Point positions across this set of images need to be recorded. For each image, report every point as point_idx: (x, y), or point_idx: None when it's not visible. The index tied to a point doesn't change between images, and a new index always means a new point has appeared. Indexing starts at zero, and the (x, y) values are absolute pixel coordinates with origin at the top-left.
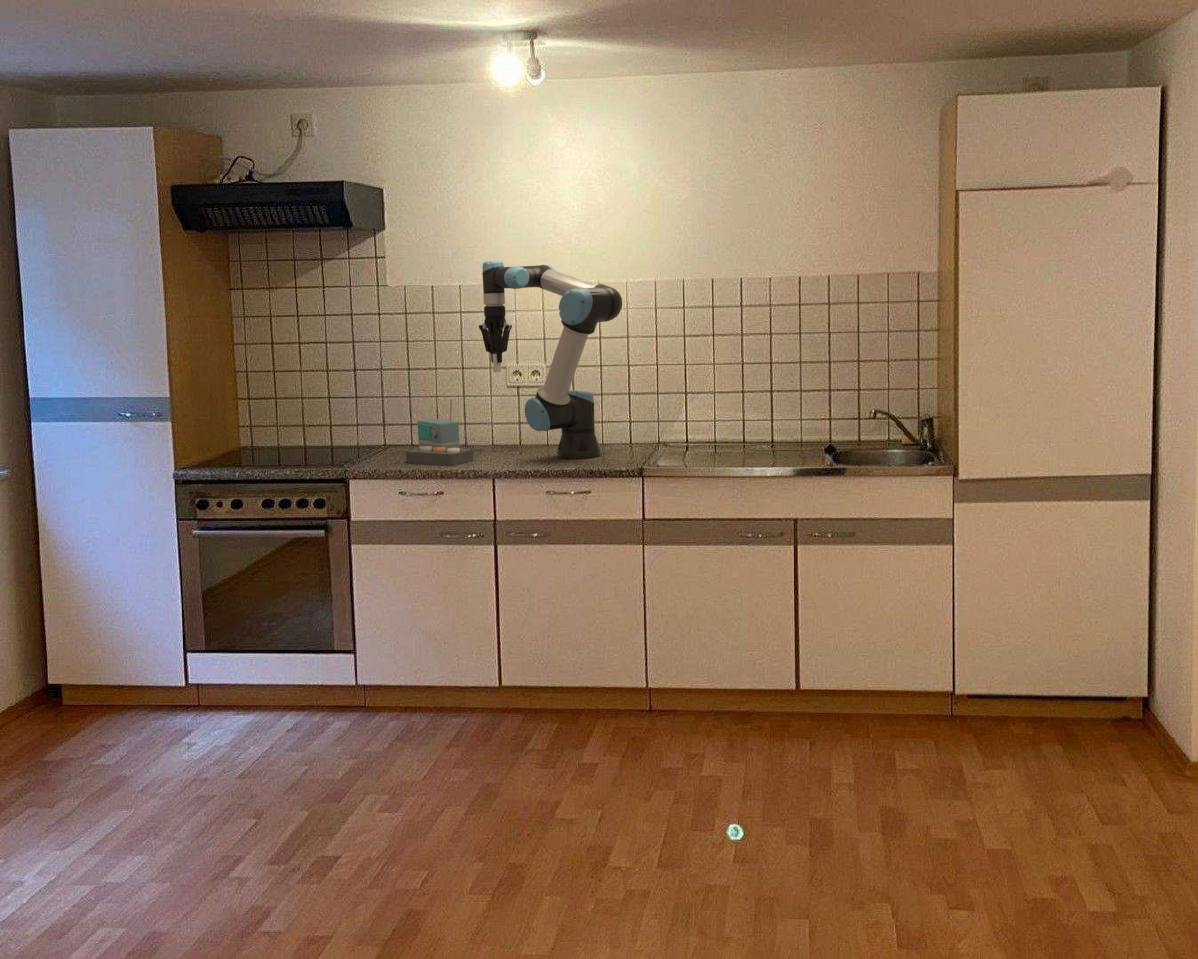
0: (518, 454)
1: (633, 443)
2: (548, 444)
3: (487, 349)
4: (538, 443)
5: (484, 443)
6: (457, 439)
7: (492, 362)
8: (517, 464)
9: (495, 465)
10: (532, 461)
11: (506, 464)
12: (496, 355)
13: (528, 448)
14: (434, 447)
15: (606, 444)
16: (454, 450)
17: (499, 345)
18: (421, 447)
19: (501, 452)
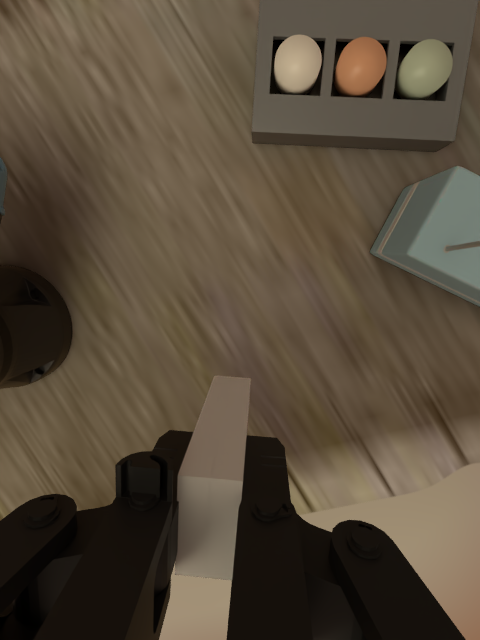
0: (191, 303)
1: None
2: None
3: (358, 550)
4: None
5: (404, 467)
6: (385, 245)
7: (267, 439)
8: (83, 122)
9: (135, 80)
10: (76, 192)
11: (114, 111)
12: (181, 469)
13: None
14: (383, 60)
15: None
16: (282, 44)
17: (56, 635)
18: (435, 43)
19: (261, 324)
